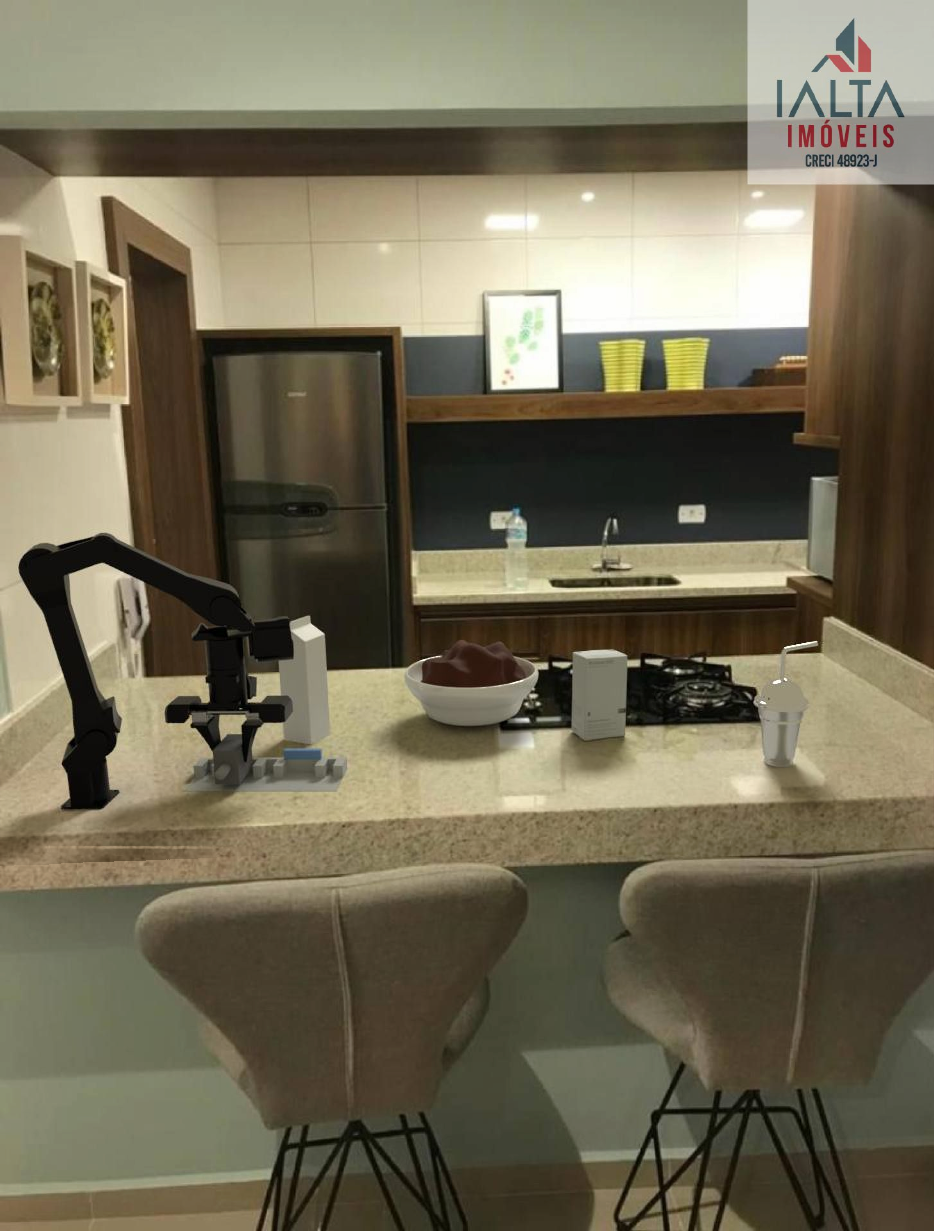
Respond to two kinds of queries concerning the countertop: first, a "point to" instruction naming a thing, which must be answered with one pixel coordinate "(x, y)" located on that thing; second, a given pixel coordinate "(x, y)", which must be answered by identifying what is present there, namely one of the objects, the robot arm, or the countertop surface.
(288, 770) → the grey toothed rack
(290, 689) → the milk
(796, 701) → the cup with straw
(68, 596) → the robot arm
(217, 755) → the dark grey knobbed block
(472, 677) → the white bowl
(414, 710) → the countertop surface
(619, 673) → the skincare box
